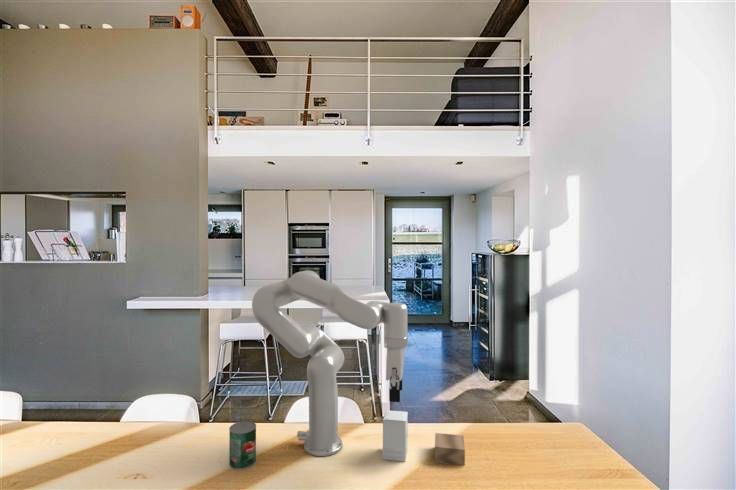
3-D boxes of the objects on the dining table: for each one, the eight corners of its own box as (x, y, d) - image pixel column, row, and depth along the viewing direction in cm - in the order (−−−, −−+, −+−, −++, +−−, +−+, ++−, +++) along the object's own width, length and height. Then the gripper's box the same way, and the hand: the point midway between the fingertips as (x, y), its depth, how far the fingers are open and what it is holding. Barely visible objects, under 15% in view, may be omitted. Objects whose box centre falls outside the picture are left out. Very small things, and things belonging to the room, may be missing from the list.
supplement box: (405, 462, 122) (405, 421, 121) (382, 459, 123) (382, 419, 123) (408, 449, 129) (408, 411, 129) (385, 447, 130) (385, 409, 130)
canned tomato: (254, 468, 118) (254, 431, 118) (227, 471, 117) (227, 433, 117) (257, 454, 126) (257, 420, 126) (231, 456, 125) (231, 421, 125)
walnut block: (434, 462, 122) (434, 446, 122) (435, 448, 130) (435, 432, 130) (464, 466, 120) (464, 449, 120) (463, 450, 129) (463, 435, 129)
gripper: (387, 335, 135) (387, 385, 135) (380, 348, 118) (381, 405, 118) (409, 336, 134) (409, 386, 134) (405, 349, 117) (406, 407, 117)
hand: (396, 395), depth 126 cm, fingers open, 9 cm apart
